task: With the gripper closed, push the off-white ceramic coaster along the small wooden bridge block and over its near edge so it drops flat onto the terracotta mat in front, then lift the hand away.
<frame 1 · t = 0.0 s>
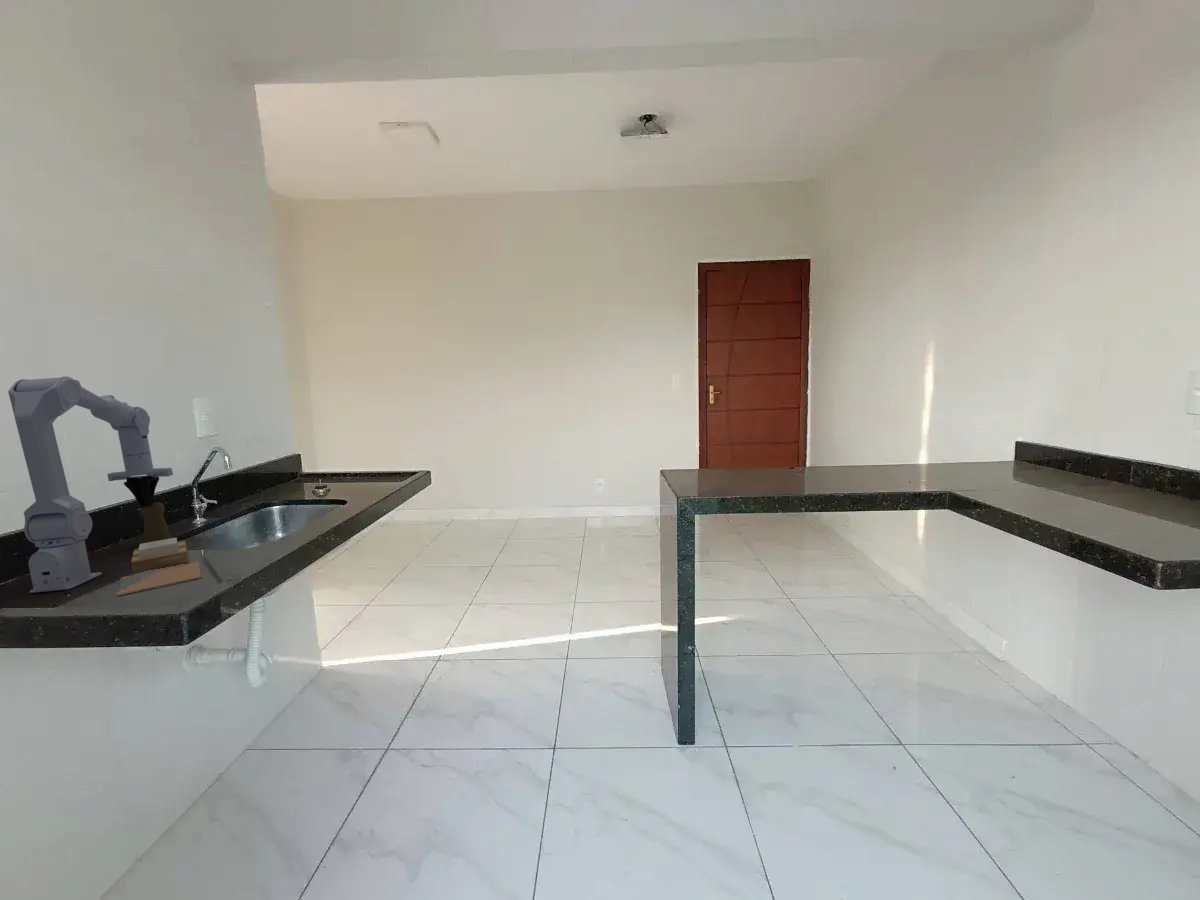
hand: (146, 505, 156), 11 cm above the worktop, tool pointing down, fingers closed, pressing on olive green rounded cylinder
wooden bridge block: (161, 563, 140), on the worktop
olive green rounded cylinder: (158, 544, 159), on the worktop, touching gripper
coaster: (159, 551, 138), point 3 cm above the worktop, touching wooden bridge block
mat: (161, 578, 127), on the worktop
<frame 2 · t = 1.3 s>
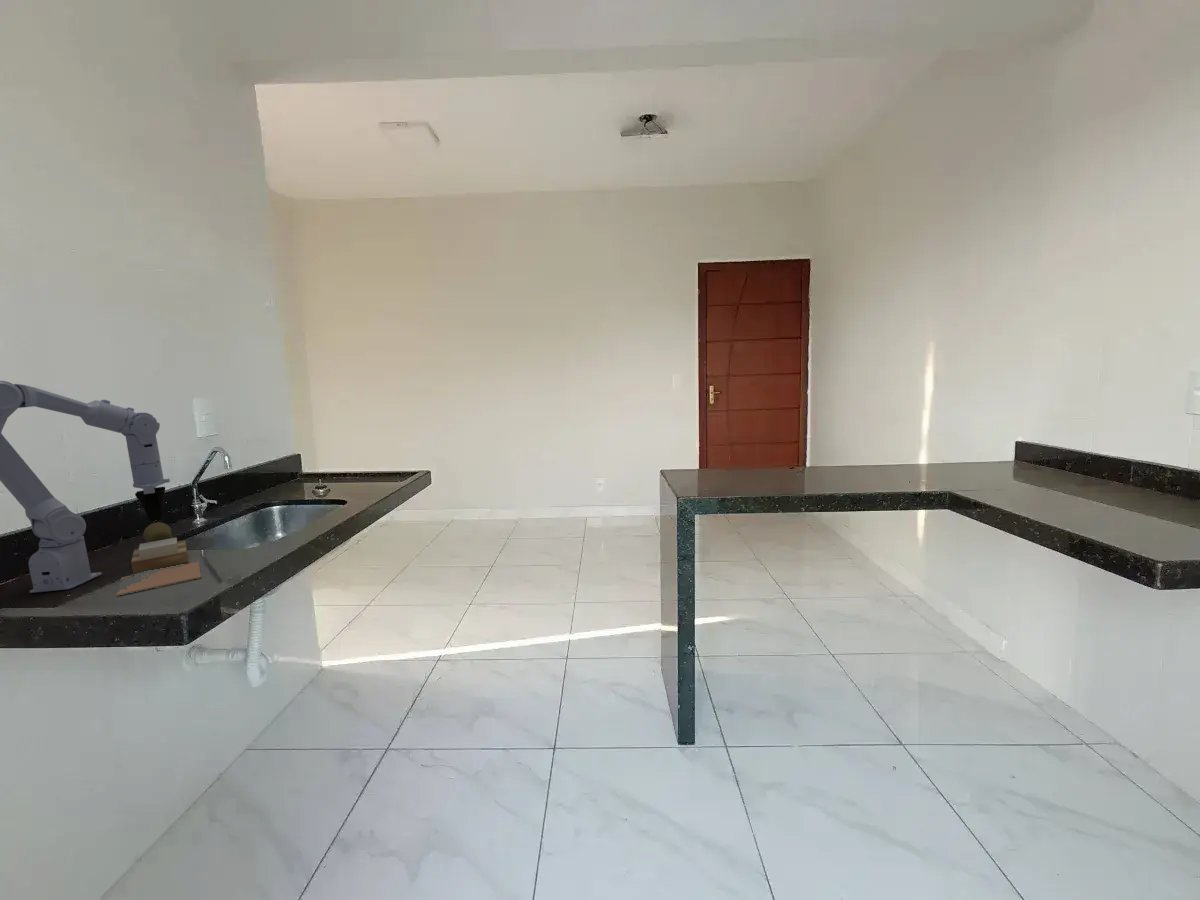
hand: (155, 519, 143), 9 cm above the worktop, tool pointing down, fingers closed
olive green rounded cylinder: (157, 533, 157), point 3 cm above the worktop
everything else where it was.
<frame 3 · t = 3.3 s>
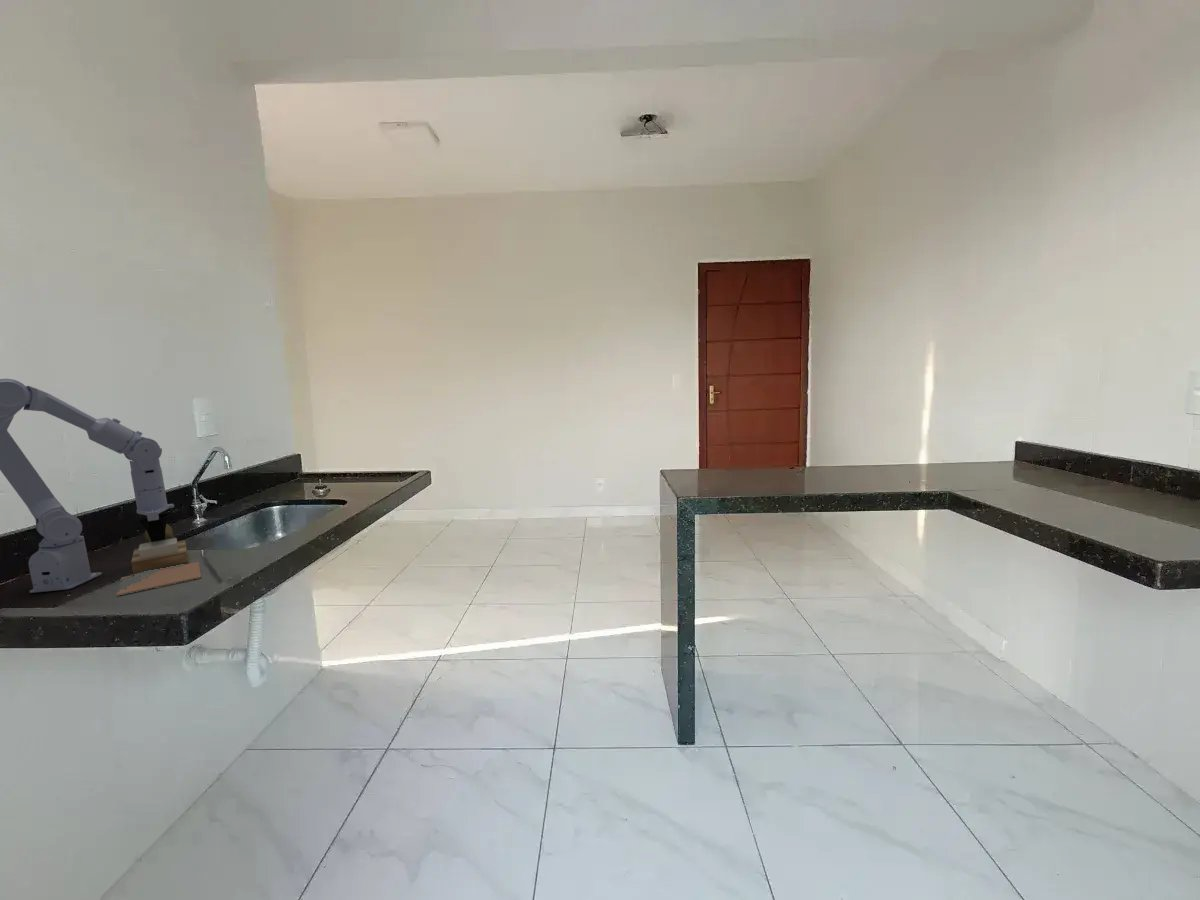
hand: (159, 545, 141), 4 cm above the worktop, tool pointing down, fingers closed
coaster: (159, 552, 138), point 3 cm above the worktop, touching wooden bridge block, gripper
everything else where it was.
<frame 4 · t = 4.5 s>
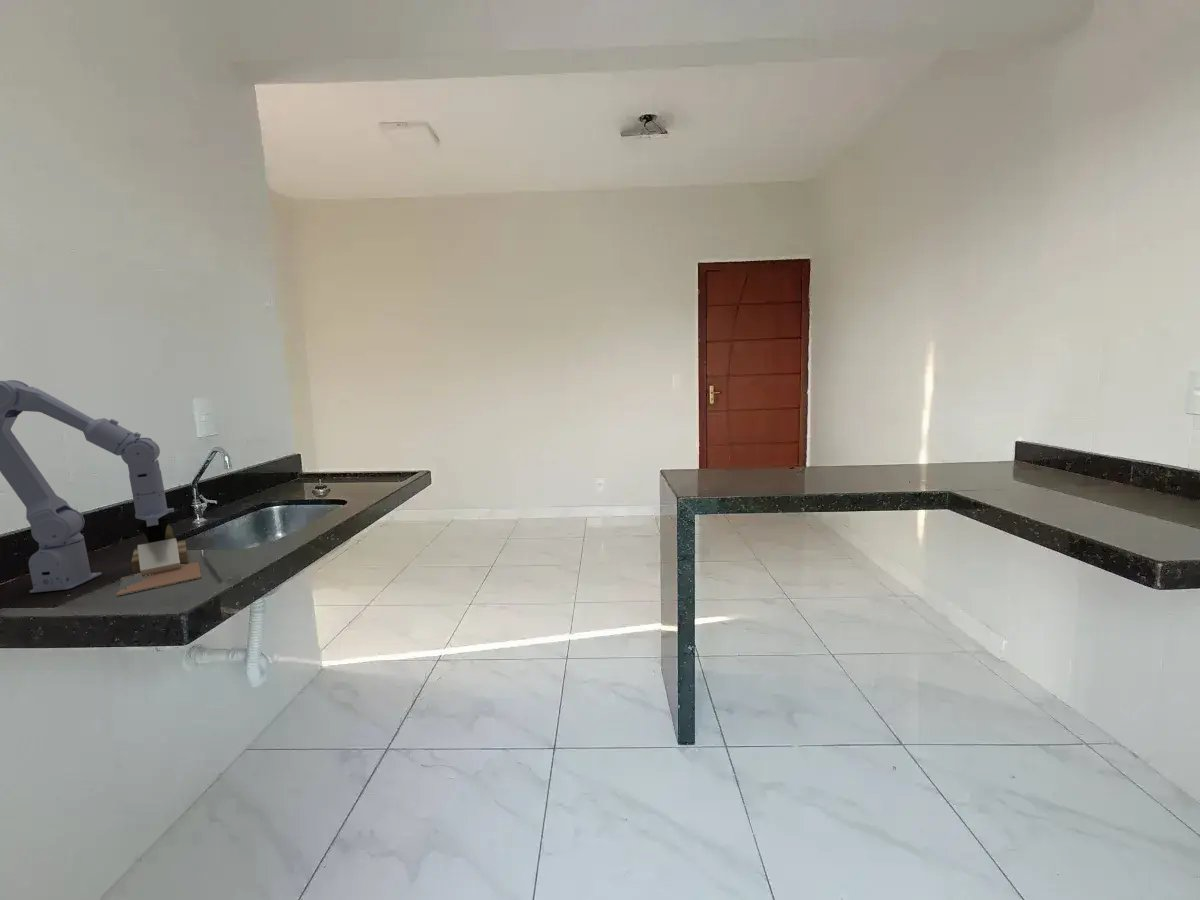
hand: (159, 551, 136), 4 cm above the worktop, tool pointing down, fingers closed
coaster: (159, 559, 133), point 3 cm above the worktop, tilted 40°, touching gripper
everything else where it was.
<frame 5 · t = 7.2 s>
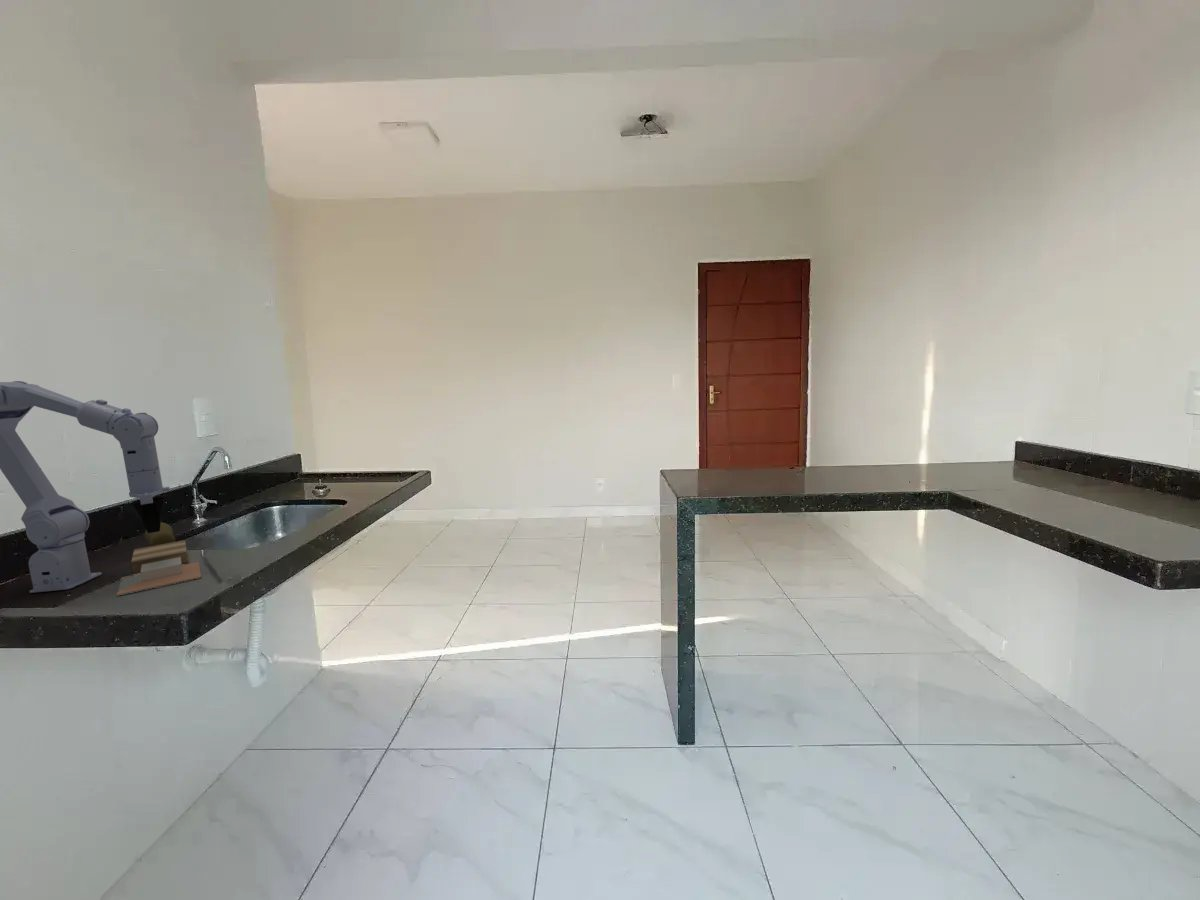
hand: (153, 531, 130), 9 cm above the worktop, tool pointing down, fingers closed
coaster: (162, 573, 130), resting on mat
everything else where it was.
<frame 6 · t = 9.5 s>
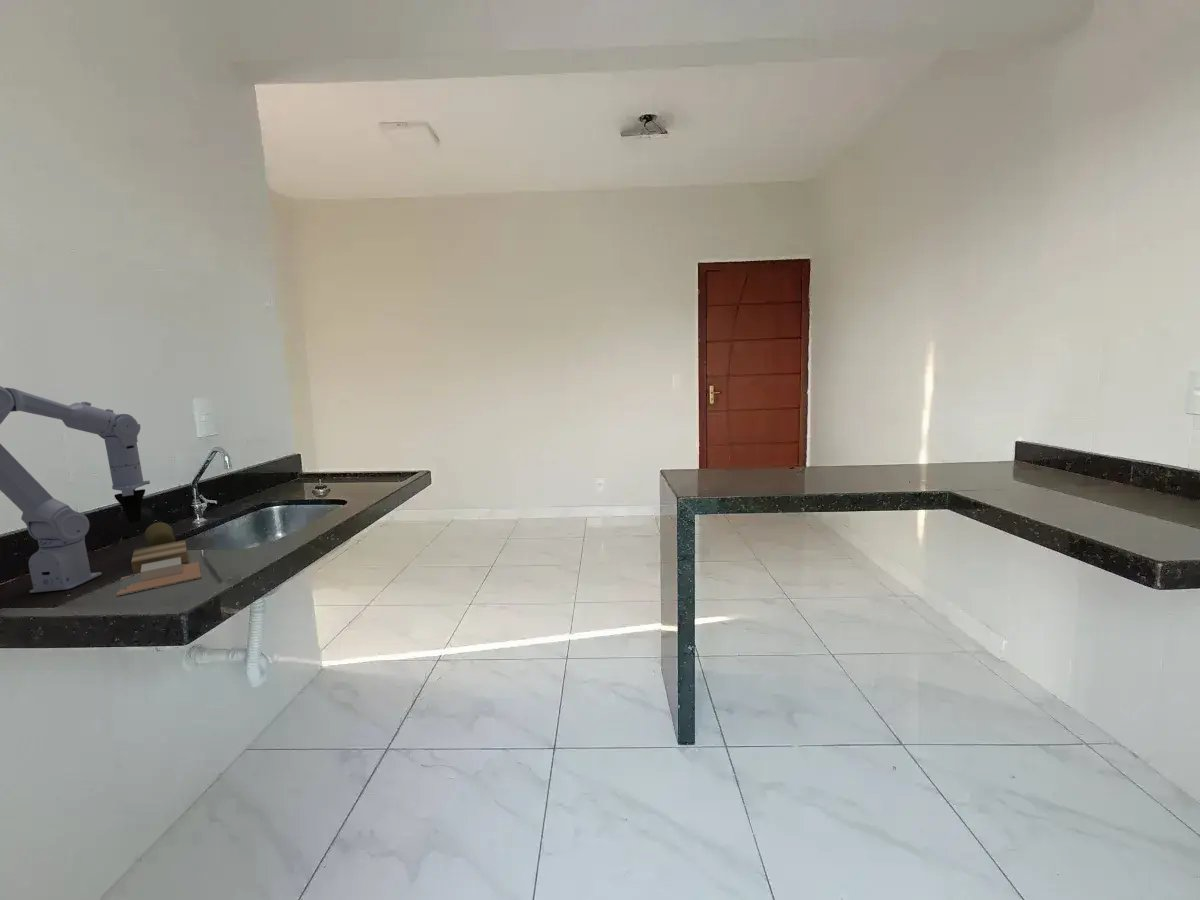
hand: (135, 521, 142), 9 cm above the worktop, tool pointing down, fingers closed
nothing on the worktop moved.
at the end: coaster resting on mat; coaster 3.2 cm from the mat (horizontally); coaster tilted 0° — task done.
